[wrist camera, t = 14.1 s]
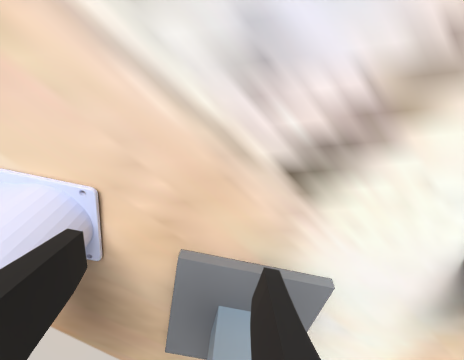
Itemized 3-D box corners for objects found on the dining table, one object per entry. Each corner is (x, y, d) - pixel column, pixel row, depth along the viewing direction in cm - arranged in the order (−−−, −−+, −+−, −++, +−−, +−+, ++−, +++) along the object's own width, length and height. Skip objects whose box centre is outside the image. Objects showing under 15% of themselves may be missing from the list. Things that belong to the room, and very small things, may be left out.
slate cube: (210, 333, 28) (203, 389, 23) (218, 305, 25) (212, 362, 21) (256, 341, 28) (257, 399, 23) (268, 315, 25) (272, 373, 21)
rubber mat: (167, 343, 31) (164, 352, 30) (180, 249, 23) (178, 257, 22) (280, 363, 32) (280, 372, 31) (331, 278, 24) (334, 288, 23)
